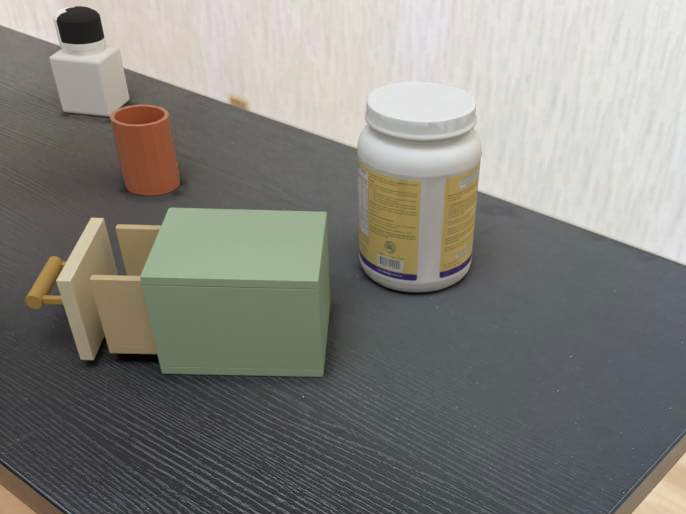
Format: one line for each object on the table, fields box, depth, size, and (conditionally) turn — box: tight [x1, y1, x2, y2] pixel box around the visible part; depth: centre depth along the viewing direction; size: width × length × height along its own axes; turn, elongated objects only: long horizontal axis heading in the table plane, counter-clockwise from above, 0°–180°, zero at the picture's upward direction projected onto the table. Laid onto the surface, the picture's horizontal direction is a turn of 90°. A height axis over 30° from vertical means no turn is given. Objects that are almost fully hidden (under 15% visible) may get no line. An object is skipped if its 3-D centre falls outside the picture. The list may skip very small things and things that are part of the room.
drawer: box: [24, 217, 162, 361], centre depth 74 cm, size 18×11×8 cm, turn 91°
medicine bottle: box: [49, 5, 130, 118], centre depth 112 cm, size 7×7×12 cm
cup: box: [109, 104, 181, 197], centre depth 96 cm, size 7×7×8 cm
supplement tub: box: [356, 81, 483, 293], centre depth 81 cm, size 12×12×17 cm
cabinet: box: [140, 207, 331, 378], centre depth 74 cm, size 15×13×10 cm
